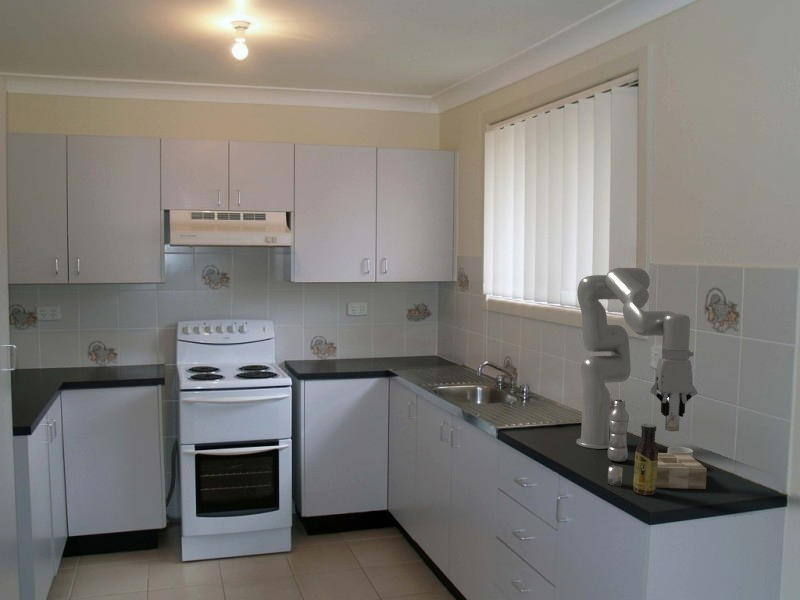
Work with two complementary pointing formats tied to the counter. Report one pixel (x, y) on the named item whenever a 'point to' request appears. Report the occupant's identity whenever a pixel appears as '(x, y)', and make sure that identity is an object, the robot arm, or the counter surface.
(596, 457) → the counter surface
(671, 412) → the long pin
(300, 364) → the counter surface
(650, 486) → the sauce bottle
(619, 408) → the plastic bottle
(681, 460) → the hole block
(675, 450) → the teacup
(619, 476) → the short pin
